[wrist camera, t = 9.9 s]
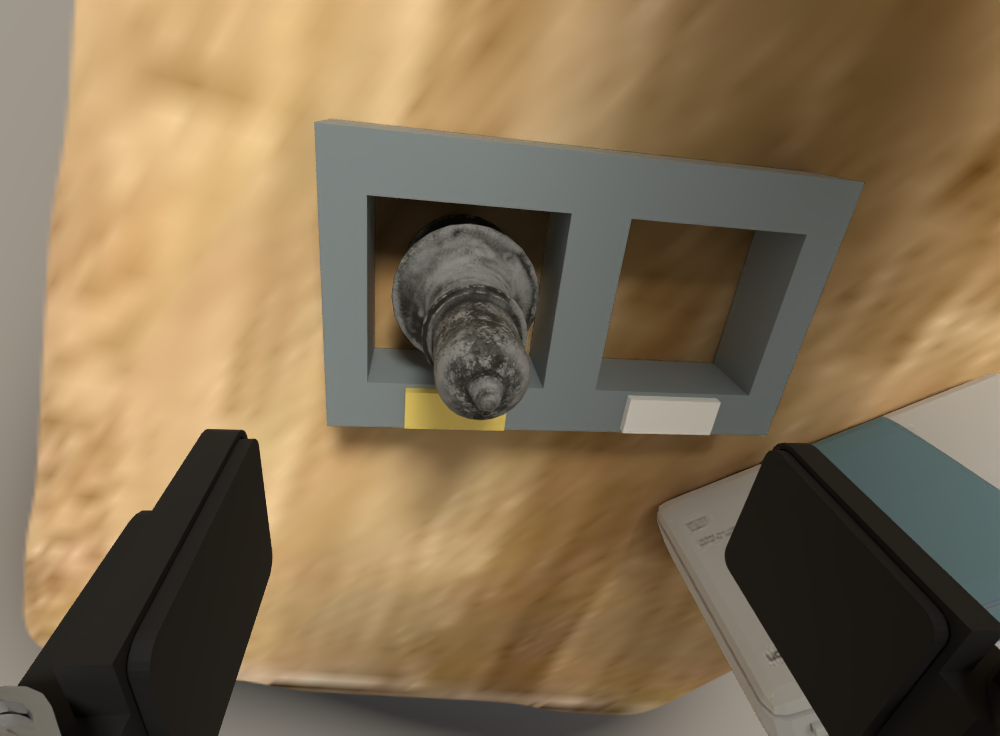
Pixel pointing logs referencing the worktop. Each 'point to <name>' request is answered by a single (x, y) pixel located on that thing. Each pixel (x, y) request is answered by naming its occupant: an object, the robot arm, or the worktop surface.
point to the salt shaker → (469, 312)
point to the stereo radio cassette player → (894, 489)
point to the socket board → (575, 278)
